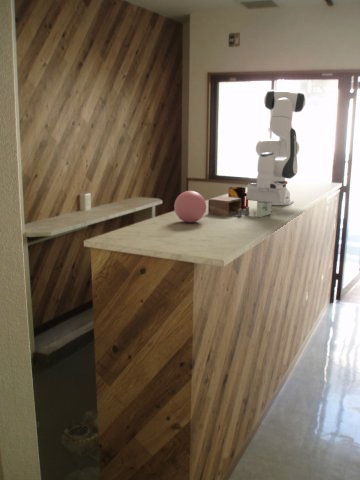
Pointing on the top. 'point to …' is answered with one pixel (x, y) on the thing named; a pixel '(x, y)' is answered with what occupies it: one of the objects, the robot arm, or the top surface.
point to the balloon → (190, 206)
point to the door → (262, 209)
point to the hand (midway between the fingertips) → (264, 210)
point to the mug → (238, 195)
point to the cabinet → (226, 206)
